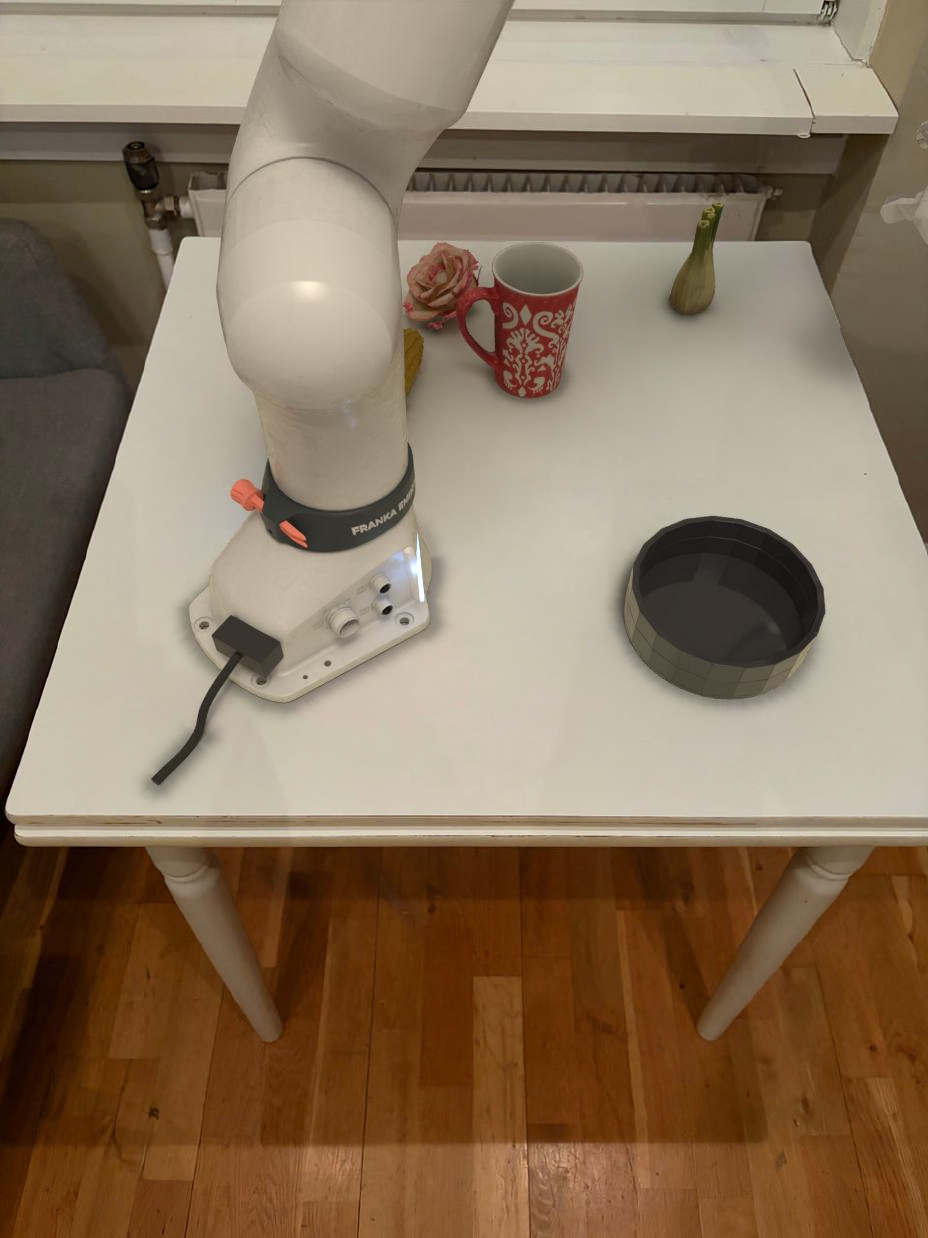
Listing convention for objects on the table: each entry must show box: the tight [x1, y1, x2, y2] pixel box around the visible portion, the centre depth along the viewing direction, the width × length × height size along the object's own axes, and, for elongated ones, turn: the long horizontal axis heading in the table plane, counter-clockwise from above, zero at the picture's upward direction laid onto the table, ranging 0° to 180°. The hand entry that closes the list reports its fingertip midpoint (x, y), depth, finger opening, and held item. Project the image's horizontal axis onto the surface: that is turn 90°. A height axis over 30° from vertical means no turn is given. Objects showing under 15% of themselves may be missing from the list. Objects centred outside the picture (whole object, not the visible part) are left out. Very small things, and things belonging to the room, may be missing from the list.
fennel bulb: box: [668, 200, 725, 315], centre depth 106 cm, size 6×5×12 cm
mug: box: [455, 241, 584, 399], centre depth 98 cm, size 13×9×14 cm
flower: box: [403, 241, 482, 330], centre depth 107 cm, size 10×9×8 cm
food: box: [403, 327, 425, 400], centre depth 97 cm, size 21×6×6 cm, turn 165°
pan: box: [623, 515, 827, 700], centre depth 83 cm, size 16×16×5 cm
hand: (902, 173), depth 84 cm, fingers open, 8 cm apart
